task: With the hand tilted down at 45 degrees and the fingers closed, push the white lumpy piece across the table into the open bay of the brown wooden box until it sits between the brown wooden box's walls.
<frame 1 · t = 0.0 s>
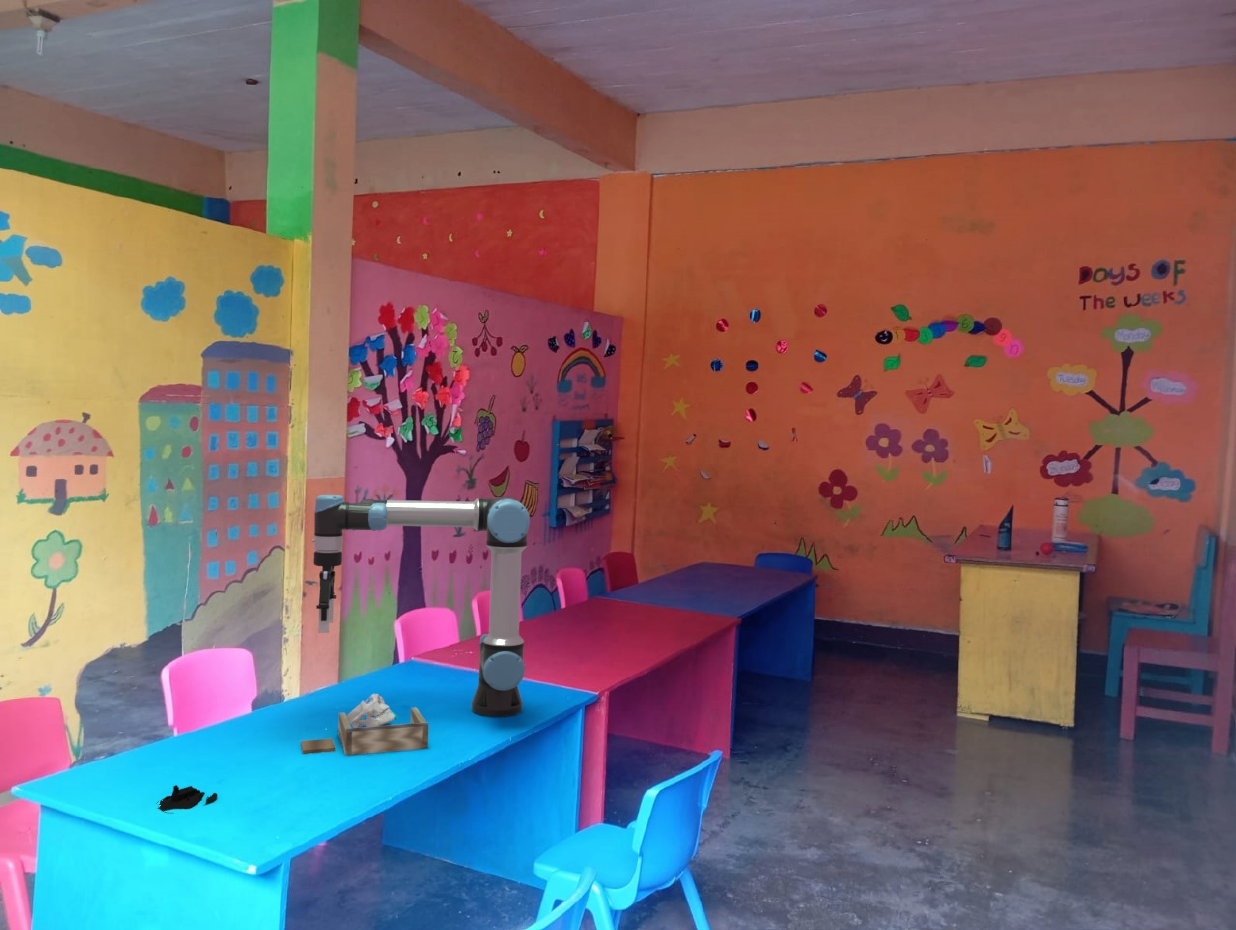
hand: (326, 627, 274), 28 cm above the table, tool pointing down, fingers open, 13 cm apart
brown wooden box: (381, 740, 266), on the table
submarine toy: (184, 806, 219), on the table
lid plate: (317, 750, 258), on the table
white lumpy piece: (374, 727, 278), on the table
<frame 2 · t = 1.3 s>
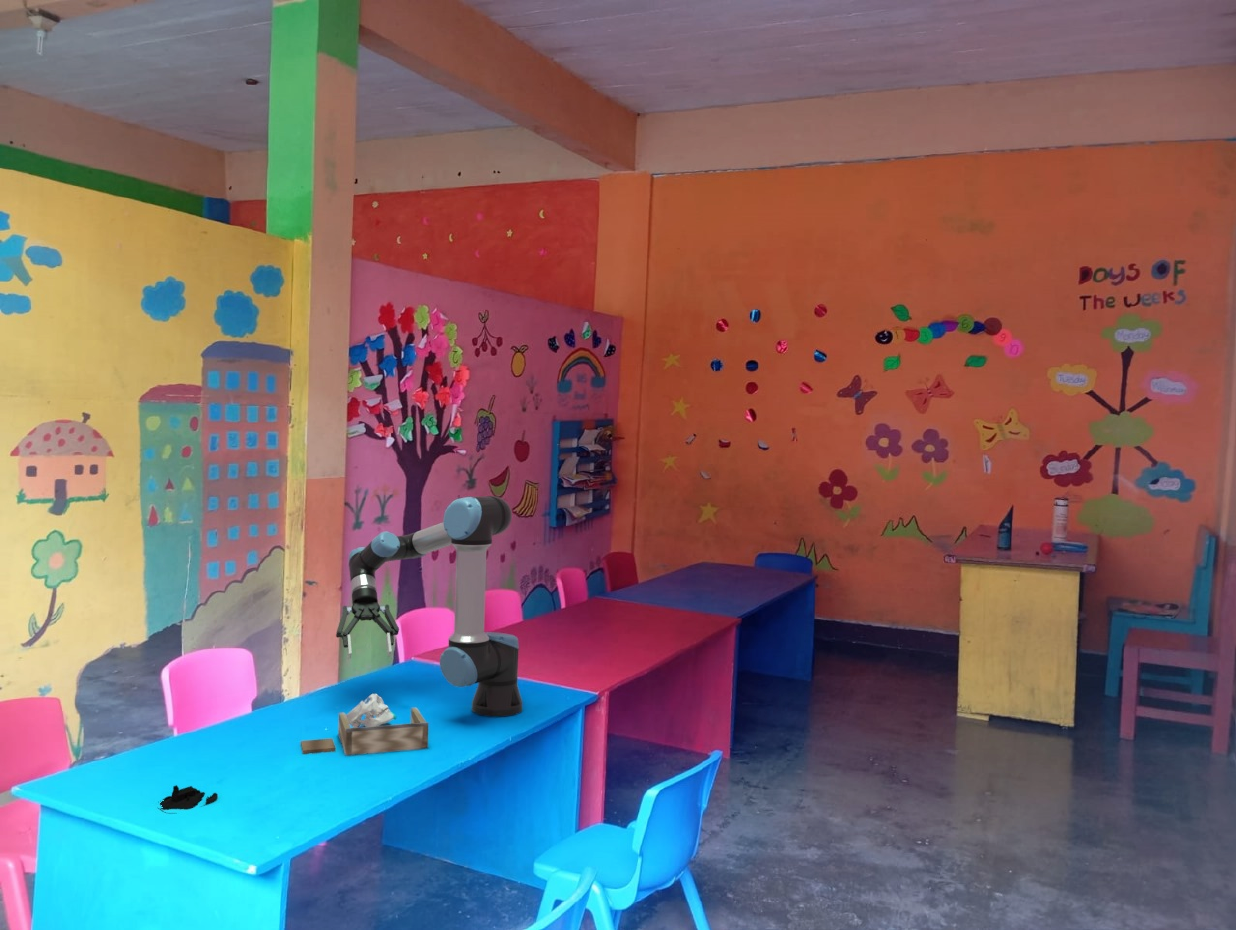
hand: (370, 655, 290), 17 cm above the table, tool tilted 45°, fingers open, 11 cm apart
nothing on the table moved.
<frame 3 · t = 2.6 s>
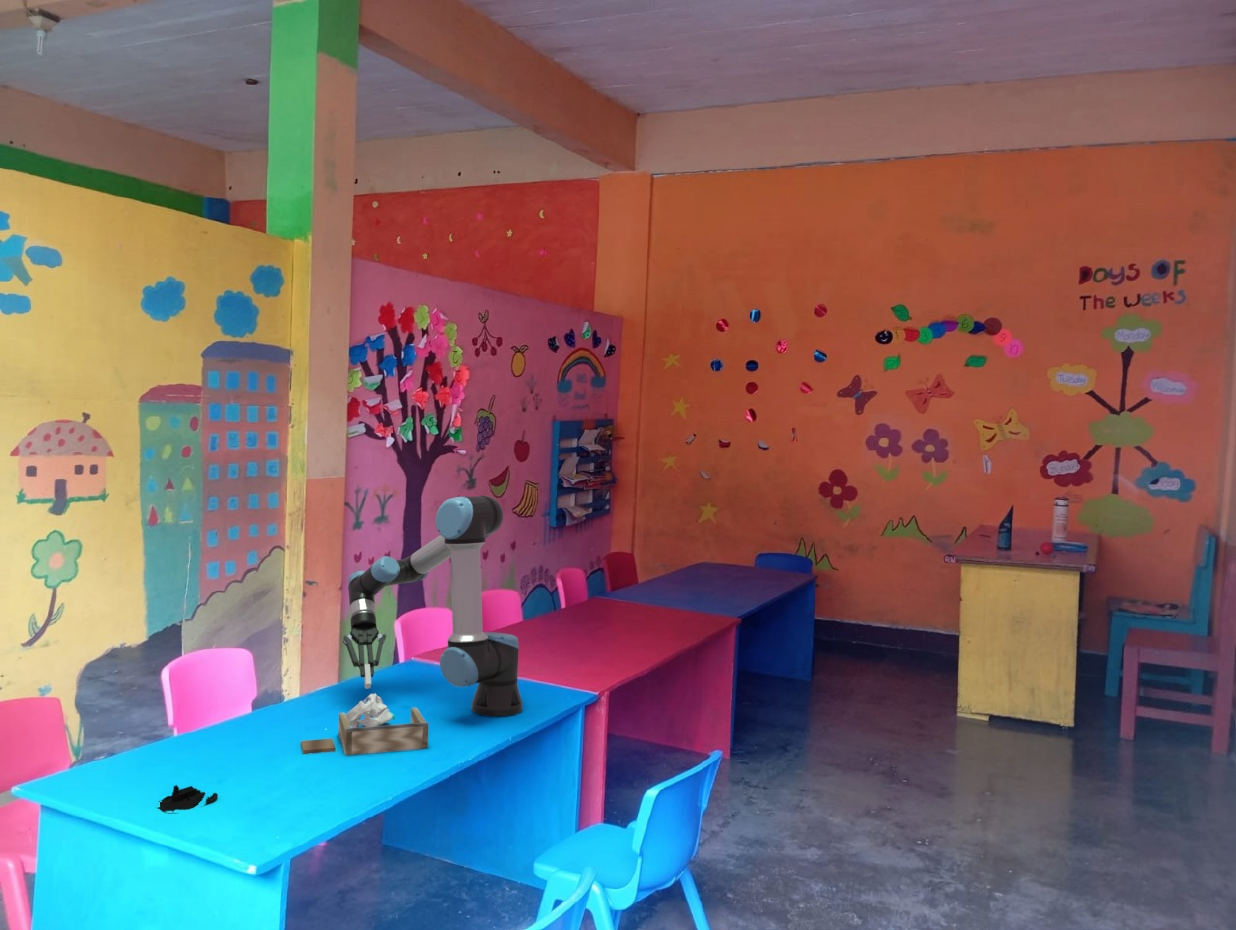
hand: (368, 686, 288), 8 cm above the table, tool tilted 45°, fingers closed
nothing on the table moved.
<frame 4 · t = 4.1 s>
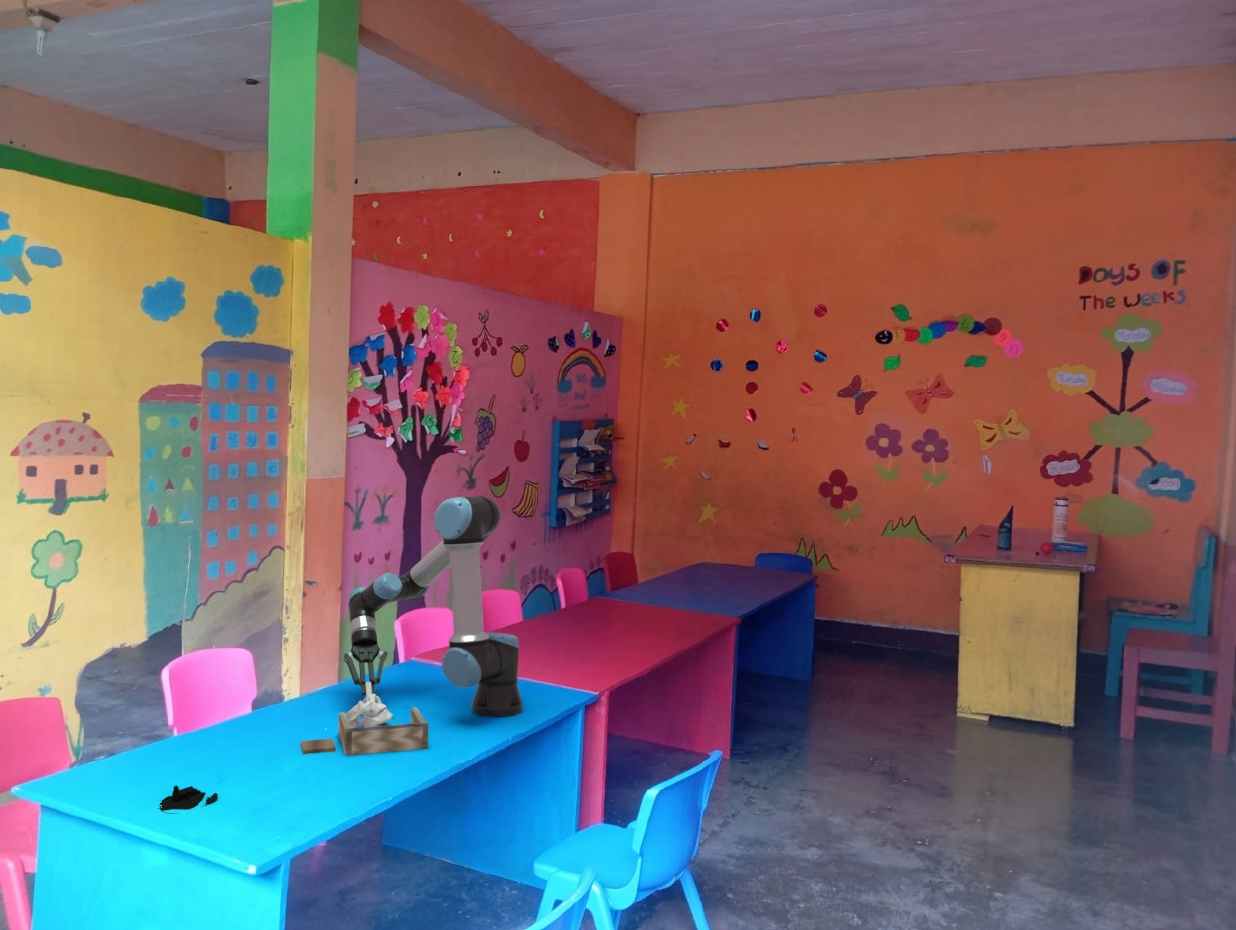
hand: (369, 704, 285), 4 cm above the table, tool tilted 45°, fingers closed
white lumpy piece: (371, 726, 278), on the table, touching gripper
everything else where it was.
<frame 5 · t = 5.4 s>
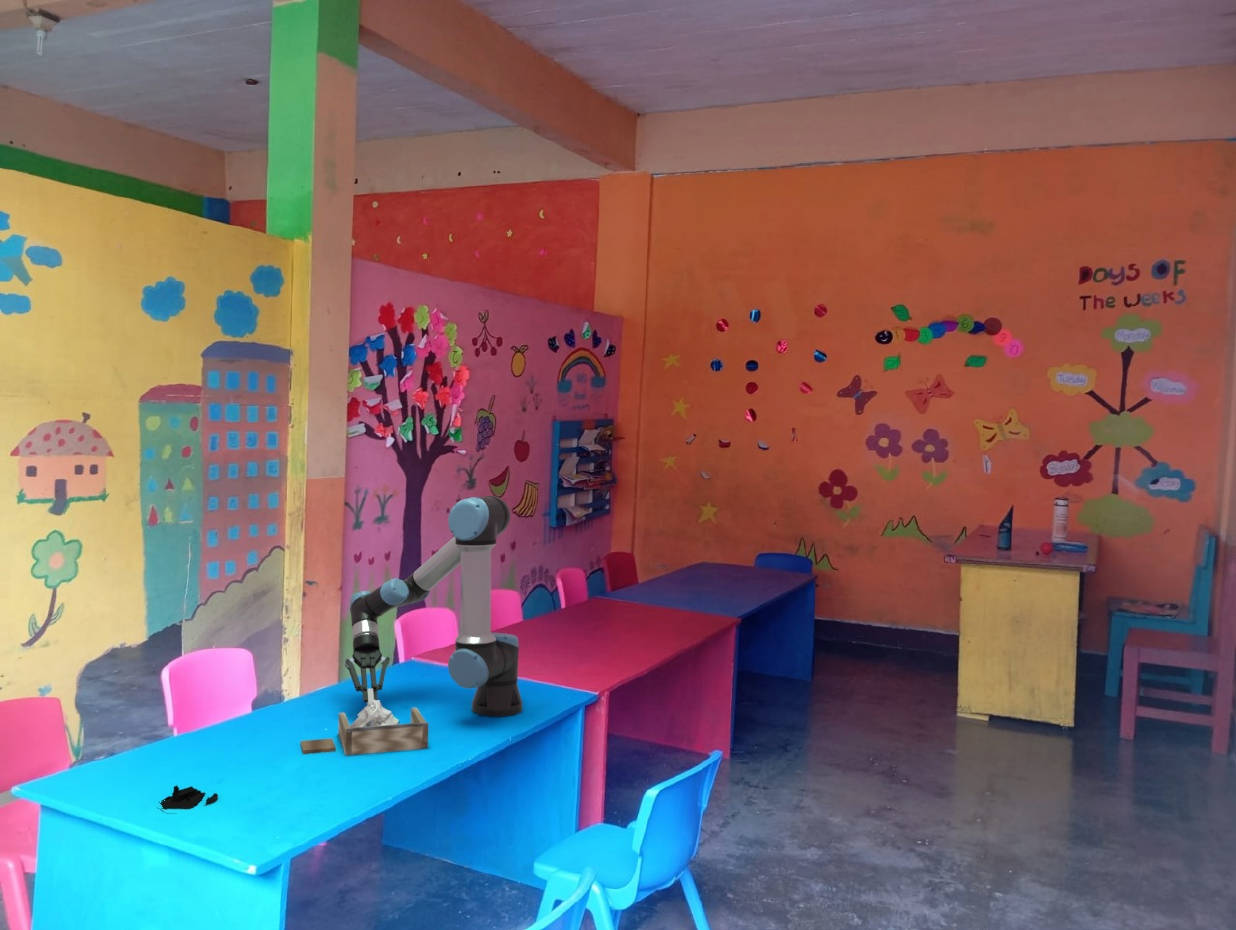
hand: (371, 711, 278), 4 cm above the table, tool tilted 45°, fingers closed
white lumpy piece: (375, 733, 272), on the table, touching gripper
everything else where it was.
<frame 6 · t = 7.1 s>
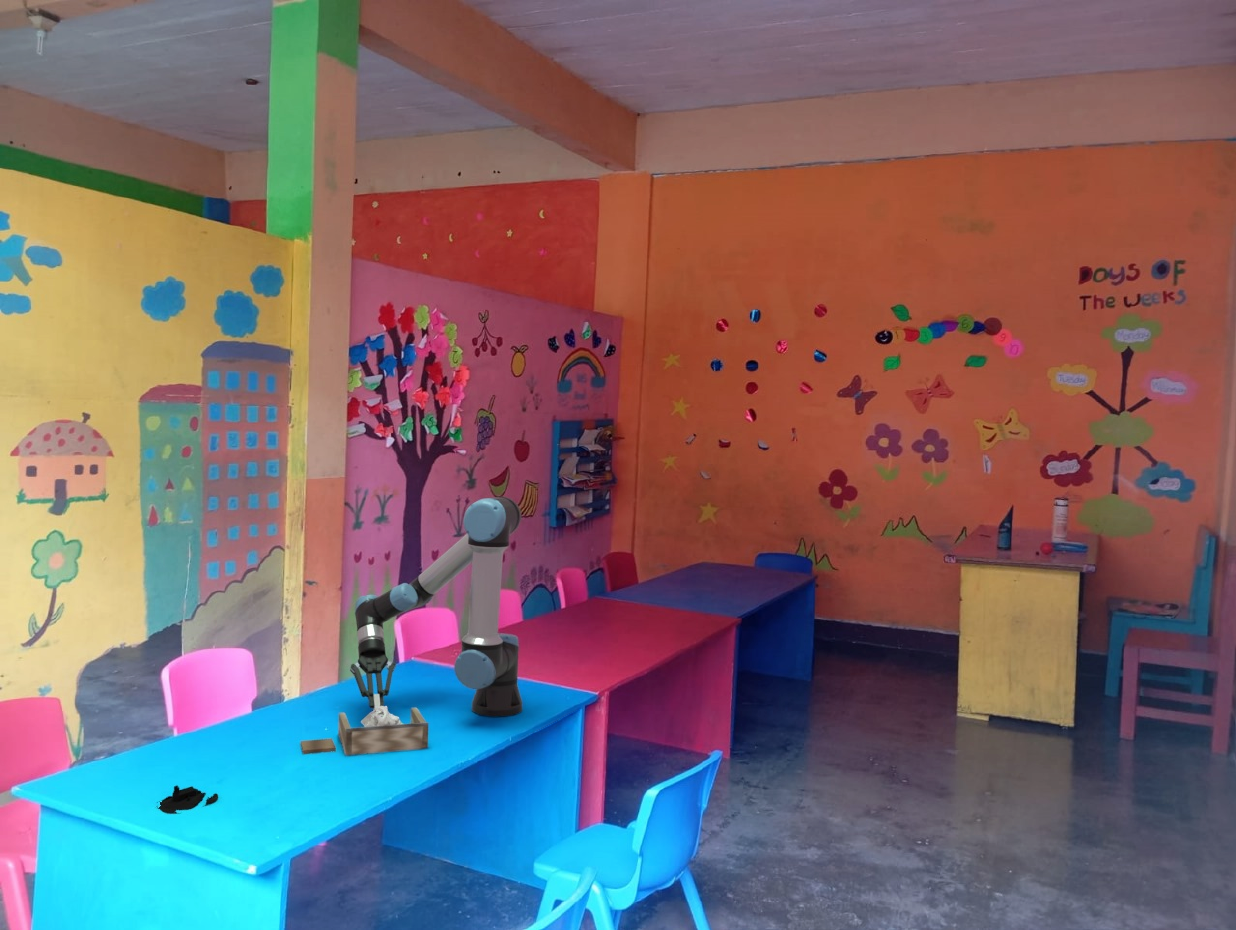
hand: (377, 717, 273), 4 cm above the table, tool tilted 45°, fingers closed
white lumpy piece: (383, 740, 267), on the table, touching gripper
everything else where it was.
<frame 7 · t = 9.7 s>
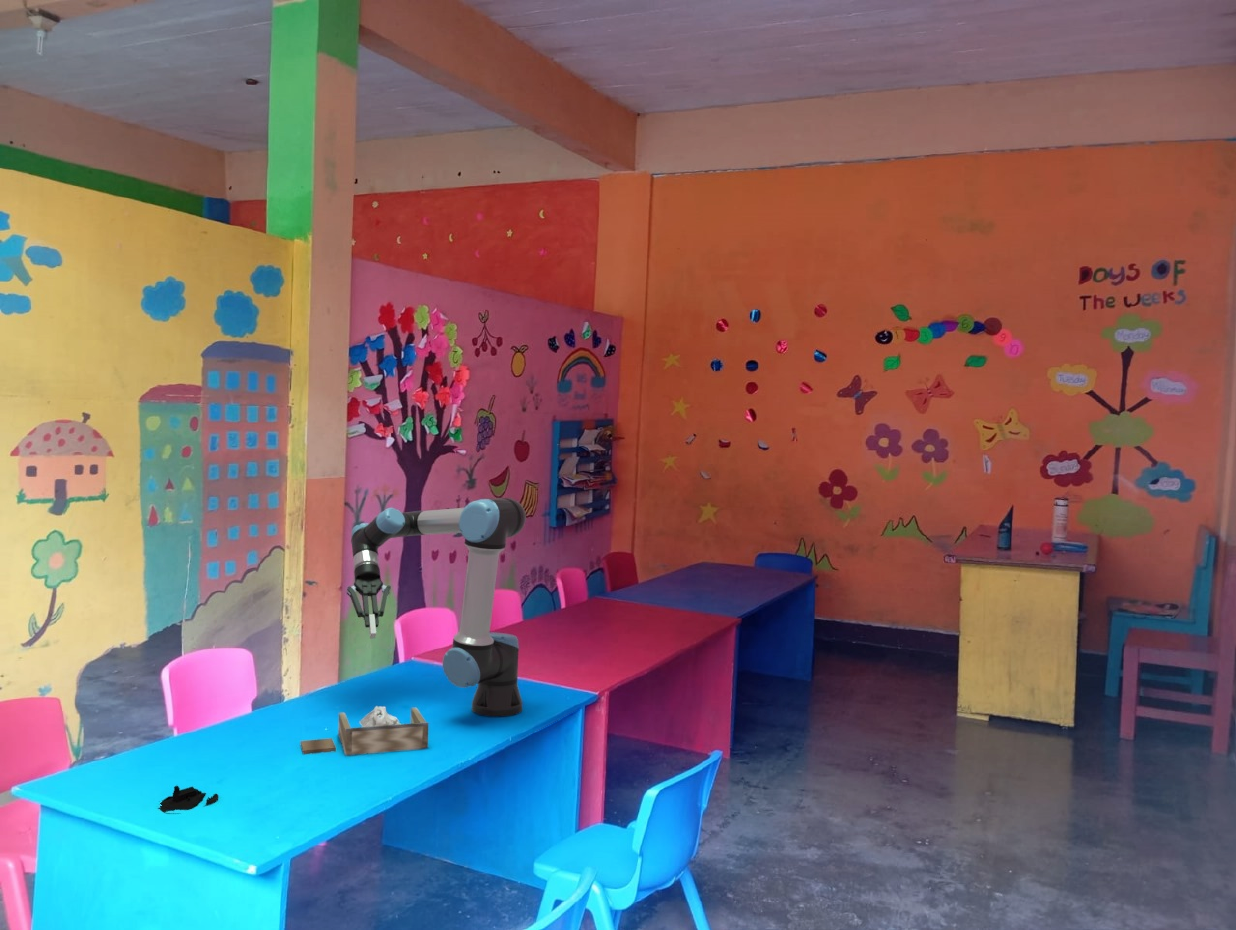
hand: (373, 635, 284), 24 cm above the table, tool tilted 45°, fingers closed
white lumpy piece: (381, 740, 266), on the table
everything else where it was.
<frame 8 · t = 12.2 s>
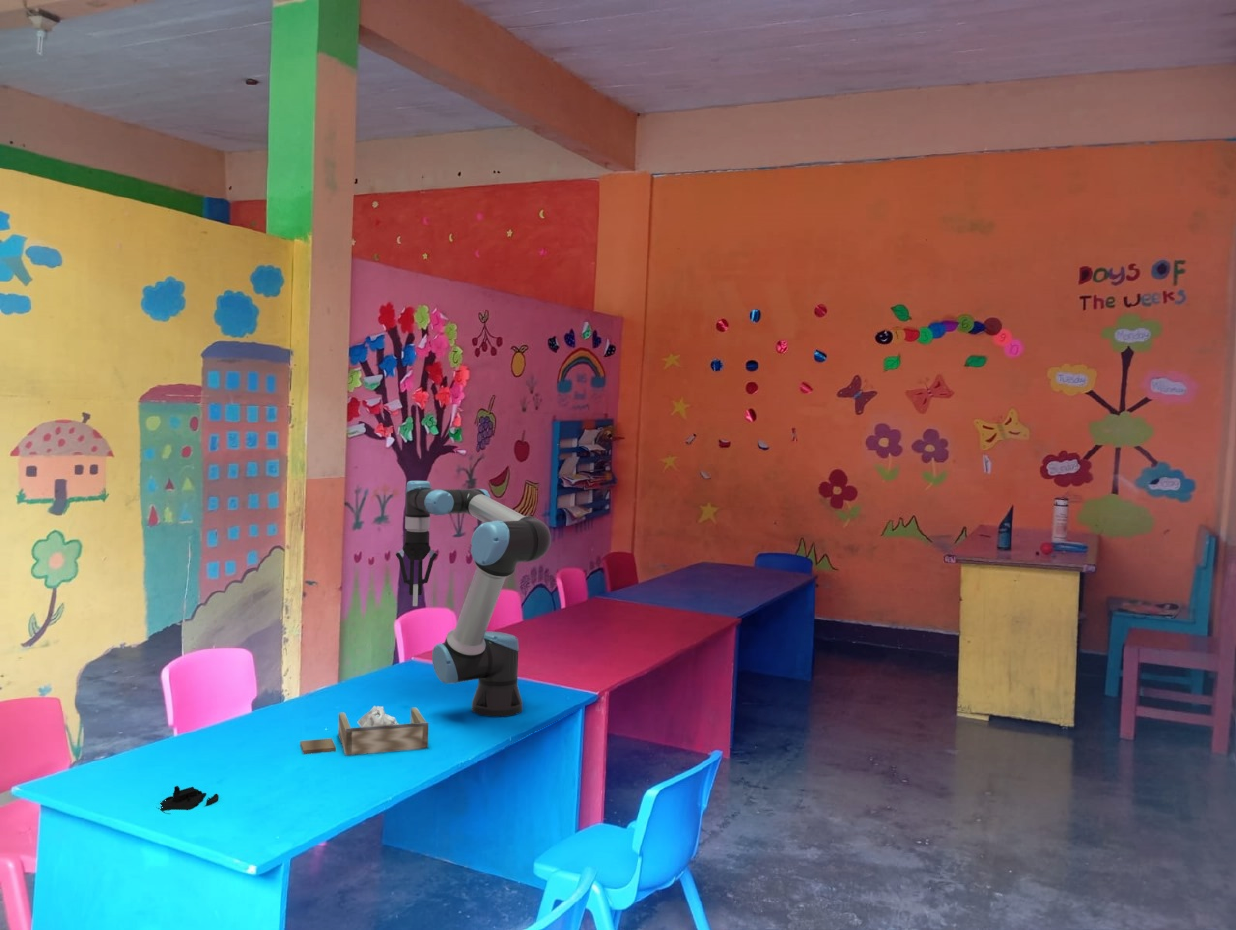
hand: (415, 605, 310), 28 cm above the table, tool pointing down, fingers closed
nothing on the table moved.
at the end: white lumpy piece inside the target area on the brown wooden box (0.7 cm from its centre), point 0.0 cm above the brown wooden box's base; white lumpy piece tilted 0°; white lumpy piece moved 12.4 cm from its start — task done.
